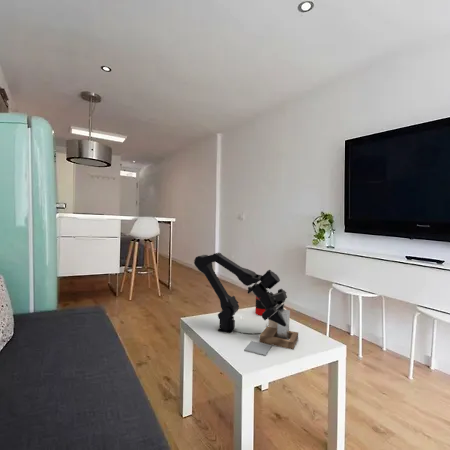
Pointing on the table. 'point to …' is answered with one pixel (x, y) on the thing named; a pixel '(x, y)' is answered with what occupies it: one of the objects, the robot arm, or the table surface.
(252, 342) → the rubber mat
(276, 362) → the table surface
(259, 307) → the soda can
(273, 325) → the teacup with lid
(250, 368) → the table surface
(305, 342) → the table surface
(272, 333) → the brown wooden rectangular frame
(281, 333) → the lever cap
